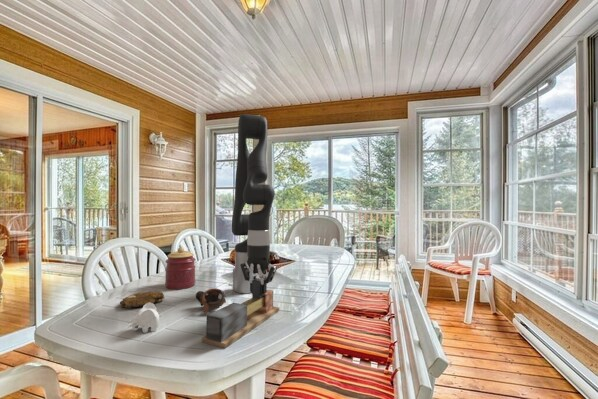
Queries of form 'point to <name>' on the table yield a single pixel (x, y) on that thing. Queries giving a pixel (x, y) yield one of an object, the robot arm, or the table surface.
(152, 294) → the decorative rock
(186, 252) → the canister
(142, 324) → the elephant figurine
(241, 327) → the block assembly on base
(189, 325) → the table surface
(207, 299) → the pottery mug
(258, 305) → the olive bar with post
